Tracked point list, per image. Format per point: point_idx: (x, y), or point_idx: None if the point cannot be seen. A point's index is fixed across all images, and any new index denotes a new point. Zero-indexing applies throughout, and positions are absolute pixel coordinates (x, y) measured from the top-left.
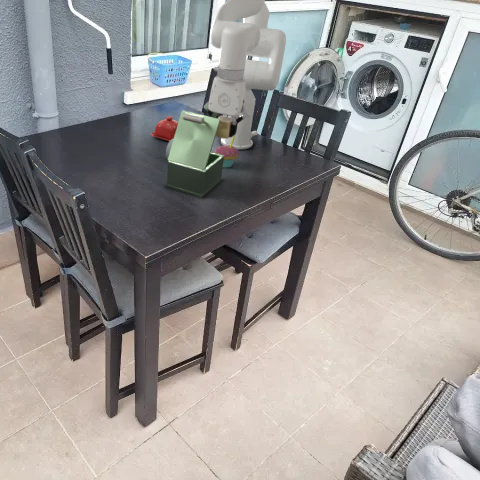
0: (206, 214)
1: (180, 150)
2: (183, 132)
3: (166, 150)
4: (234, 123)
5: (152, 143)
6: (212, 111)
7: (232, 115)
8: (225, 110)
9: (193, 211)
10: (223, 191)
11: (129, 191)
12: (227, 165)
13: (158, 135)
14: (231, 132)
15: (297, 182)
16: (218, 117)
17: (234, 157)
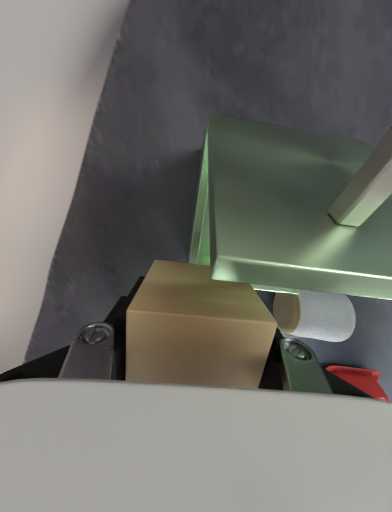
0: (163, 59)
1: (345, 147)
2: None
3: (344, 295)
4: (96, 336)
5: (365, 347)
6: (375, 399)
7: (37, 379)
8: (167, 467)
9: (198, 59)
10: (165, 206)
11: (381, 91)
12: None
13: (364, 375)
14: (133, 287)
15: (44, 317)
16: (256, 383)
17: None
